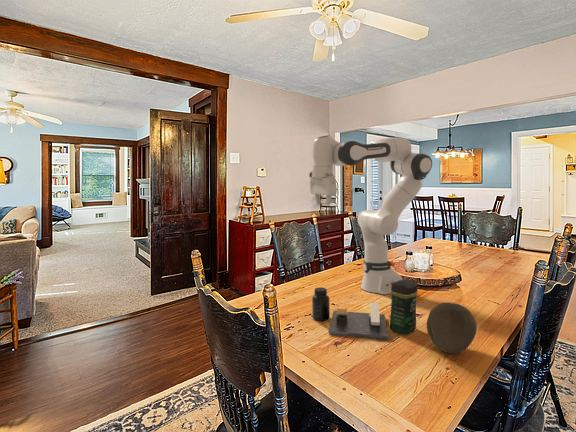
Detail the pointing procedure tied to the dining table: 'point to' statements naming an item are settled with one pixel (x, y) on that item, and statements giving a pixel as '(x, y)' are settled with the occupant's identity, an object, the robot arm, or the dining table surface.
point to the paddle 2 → (375, 314)
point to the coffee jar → (403, 306)
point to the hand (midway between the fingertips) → (322, 204)
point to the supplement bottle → (320, 305)
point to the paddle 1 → (341, 311)
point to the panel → (357, 326)
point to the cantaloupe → (451, 327)
